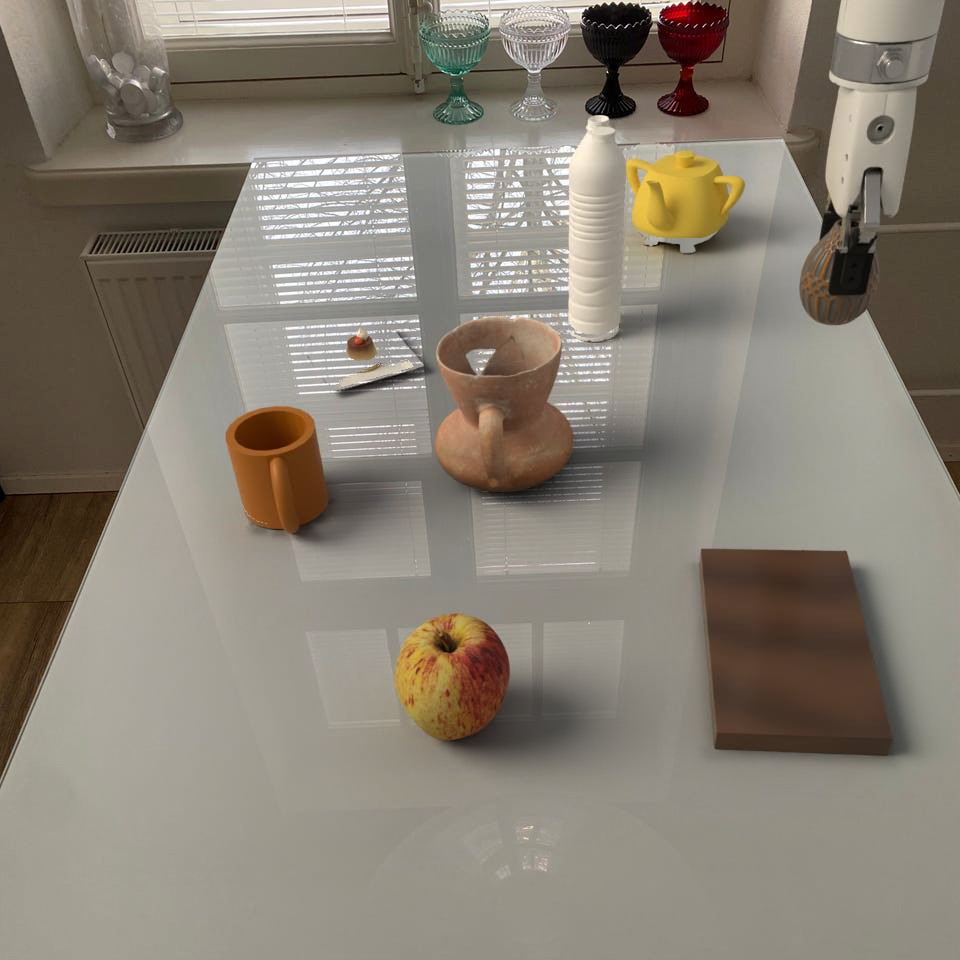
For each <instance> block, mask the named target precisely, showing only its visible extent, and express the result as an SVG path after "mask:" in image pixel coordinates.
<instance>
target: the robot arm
mask: <svg viewBox="0 0 960 960" xmlns="http://www.w3.org/2000/svg"><path fill="white" fill-rule="evenodd" d="M945 2H946V0H840V5H839V12H838V16H837V21H836V22H837V23H836V30H835V36H834V43H833V48H832V55H831V61H830V67H829V72H828V79H829V81H830V82H832V83H833V84H835V85H837V86H839V89H838V90H837V99H836V104H835V109H834V112H833V113H834V114H833V118H832V123H831V130H830V136H829V141H828V142H829V143H828V149H827V156H826V164H825V184H826V188H827V191H828V195H827V198H826V202H825V212H823V216H822V221H821V228H820V233H819V238H818V242H819V241H820V240H821V239H822V238H823V237H824V236H825V235H826V234H827V233H829V231H830V230H831V229H832V227H833V226H834V224H835V223H836V221H837V220H839V219H842V227H841V238H840V249H835V254H834V259H833V265H832V270H831V276H830V281H829V286H828V292H829V294H830V295H832V296H837V295H863V294H865V293H866V290H867V285H868V281H869V276H870V271H871V266H872V262H873V257H874V252H875V249H876V247H877V246H876V245H877V239H878V231H879V229H880V225H881V212H882V213H883V215H884V216H886V217H887V218H889V219H890V218H893V217H894V216H896V215H897V214H898V213H899V208H900V203H901V199H902V194H903V189H904V182H905V177H906V176H905V175H906V170H907V165H908V160H909V159H908V158H909V153H910V149H911V148H910V147H911V140H912V136H913V128H914V121H915V112H916V103H917V90H918V88H917V87H918V86H921V85H923V84H925V82H927V80H928V78H929V74H930V69H931V65H932V61H933V56H934V51H935V47H936V42H937V38H938V34H939V29H940V25H941V22H942V21H941V20H942V16H943V11H944V7H945ZM859 208H860V212H858V211H859ZM881 210H882V211H881ZM851 221H860V223H859V228H854V230H853V232H851V235H850V227H851Z"/></svg>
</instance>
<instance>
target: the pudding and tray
mask: <svg viewBox="0 0 960 960" xmlns="http://www.w3.org/2000/svg"><path fill="white" fill-rule="evenodd" d="M367 331H368V330H366V329H364V328H362V327H361V328H360V327H358V330H357V332H356V334H357V335H356V336H353V337H351V338H349V339H348V341H347V348H346V354H347V355H348V357H350V358H351V359H354V360H358V361H361V360H369V359H372V358H374V357H375V355H377V349H376V346H375V344H374V342H373V340H372V338H371V337H370V336H368V332H367ZM405 360H407V359H405ZM400 361H404V360H400ZM378 363H379V362H378ZM384 363H385V362H384ZM395 363H396V362H395ZM381 364H383V363H380V365H379V364H376V365H374V366H372V367H369V368H368V369H364V370H367V371H364V372H362V371H360V372H357V373H360V374H357V373H353V375H349V376H346V378H343V381H342V380H339V384H336V387H337V388H341V387H344V386H348V385H351V384H355V383H358V382H362V381H366V380H369V379H373V378H376V377H380V376H383V375H387V374H391V373H394V372H398V371H401V370H405V369H408V368H412V367H414V366H413V365H412V364H411V363H410V361H409V360H408V362H407V361H404V362H403V363H402V362H399V364H395V365H394V367H393V366H392V365H391V366H389V365H390V364H388V363H387V365H385V364H383V365H381ZM391 364H392V363H391ZM402 364H403V365H402ZM378 365H379V366H378ZM396 365H398V366H396ZM370 368H371V369H370ZM415 370H416V369H414V370H411V371H407V372H404V373H400V374H396V375H393V376H389V377H386V378H382V379H379V380H375V381H372V382H368V383H364V384H361V385H357V386H354V387H350V388H347V389H343V390H339V391H338V392H342V391H345V390H349V389H353V388H356V387H361V386H363V385H367V384H371V383H374V382H377V381H381V380H385V379H388V378H391V377H392V378H393V377H395V376H399V375H402V374H407V373H410V372H412V371H415ZM355 374H356V375H355ZM346 375H348V374H346ZM343 377H344V376H343ZM348 377H349V378H348ZM340 381H341V382H340ZM337 383H338V382H337Z"/></svg>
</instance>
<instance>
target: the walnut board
mask: <svg viewBox="0 0 960 960" xmlns="http://www.w3.org/2000/svg"><path fill="white" fill-rule="evenodd" d="M699 553H700V554H699V560H698V562H699V563H698V568H699V569H698V570H699V581H700V592H701V594H700V595H701V606H702V616H703V617H702V618H703V619H702V620H703V628H704V642H705V653H706V665H707V666H706V667H707V678H708V679H707V680H708V690H709V701H710V702H709V703H710V713H711V727H712V738H713V748H714V749H715V750H718V749H719V750H742V751H768V752H791V753H793V752H795V753H814V754H815V753H816V754H817V753H818V754H841V755H842V754H843V755H865V756H866V755H869V756H870V755H872V756H888V754H889V752H890V749H891V747H892V744H893V740H894V736H893V732H892V729H891V728H892V727H891V724H890V720H889V716H888V712H887V708H886V705H885V700H884V696H883V692H882V688H881V685H880V680H879V676H878V671H877V667H876V663H875V660H874V655H873V651H872V648H871V643H870V640H869V639H870V638H869V636H868V631H867V627H866V622H865V619H864V615H863V610H862V607H861V603H860V599H859V595H858V590H857V587H856V582H855V579H854V575H853V570H852V566H851V563H850V558H849V554H848V551H847V550H820V549H819V550H818V549H817V550H815V549H814V550H811V549H762V548H761V549H757V548H756V549H755V548H754V549H753V548H750V549H749V548H700V552H699Z"/></svg>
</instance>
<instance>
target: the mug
mask: <svg viewBox="0 0 960 960" xmlns="http://www.w3.org/2000/svg"><path fill="white" fill-rule="evenodd" d="M225 444H226V448H227V451H228V453H229V458H230V462H231V466H232V471H233V473H234V474H233V475H234V477H235V480H236V481H235V482H236V484H237V485H236V486H237V489H238V493H239V496H240V500H241V504H242V507H243V506H244V508H245V510H246V511H247V513H248V515H250V516H251V517H252V518H254V519H255V520H254V519H252V518H251V517H249V516H248V515H247V513H246V512H245V510H244V508H243V511H244V514H245V515H246V518H248V520H249V521H250V522H252V523H253V524H255V525H257V526H259V527H262V528H265V529H270V530H271V529H273V530H275V529H276V530H284V531H285V533H288V534H295V533H297V532H298V530H299V528H300V527H301V526H302V525H305V524H307V523H310V522H312V521H313V520H315V519H316V518H318V517H319V516H321V514H322V513H323V512H324V511H325V510H326V509H327V506H328V504H329V500H330V499H329V493H328V488H327V481H326V477H325V472H324V466H323V461H322V454H321V449H320V445H319V440H318V433H317V429H316V423H315V419H314V418H313V417H312V416H311V414H310V413H308V412H307V411H305V410H302V409H301V408H297V407H292V406H288V405H287V406H286V405H284V406H283V405H273V406H266V407H261V408H256V409H254V410H250V411H248V412H245V413H244V414H242V415H241V416H239V417H237V418H236V419H234V421H232V422H231V423H230V424H229V426H228V428H227V429H226V430H225ZM256 520H257V521H260V522H257V521H256ZM261 522H263V523H261ZM265 523H267V524H265Z"/></svg>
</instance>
